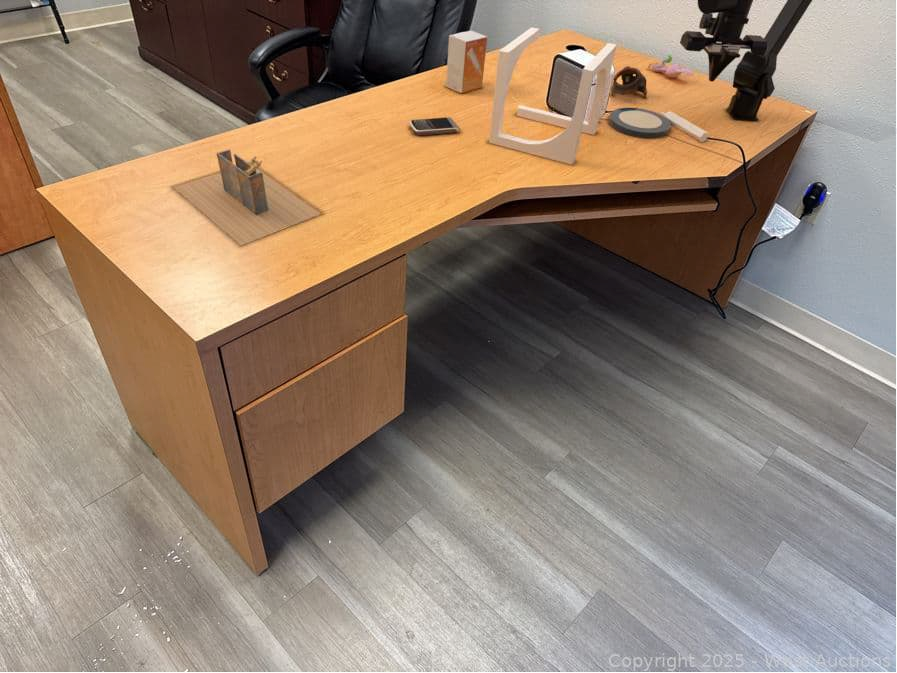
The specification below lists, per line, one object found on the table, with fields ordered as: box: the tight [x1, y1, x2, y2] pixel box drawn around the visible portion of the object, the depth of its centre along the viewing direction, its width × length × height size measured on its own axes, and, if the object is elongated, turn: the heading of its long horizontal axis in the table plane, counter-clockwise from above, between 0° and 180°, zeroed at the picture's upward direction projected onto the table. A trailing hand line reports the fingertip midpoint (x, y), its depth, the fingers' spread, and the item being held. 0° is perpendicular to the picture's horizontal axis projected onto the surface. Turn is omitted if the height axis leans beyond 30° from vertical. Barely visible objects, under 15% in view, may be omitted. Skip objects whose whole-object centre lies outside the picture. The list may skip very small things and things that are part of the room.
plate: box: [608, 107, 672, 139], centre depth 150 cm, size 15×15×2 cm
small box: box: [445, 29, 488, 94], centre depth 157 cm, size 8×6×13 cm
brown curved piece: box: [610, 65, 648, 99], centre depth 163 cm, size 12×10×8 cm
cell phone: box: [409, 116, 460, 136], centre depth 140 cm, size 6×11×1 cm, turn 108°
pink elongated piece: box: [647, 54, 694, 79], centre depth 176 cm, size 6×6×15 cm
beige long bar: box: [660, 110, 709, 142], centre depth 150 cm, size 3×2×16 cm
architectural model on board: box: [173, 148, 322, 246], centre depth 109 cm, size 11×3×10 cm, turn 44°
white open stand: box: [488, 26, 618, 166], centre depth 135 cm, size 20×20×20 cm
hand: (710, 80), depth 145 cm, fingers closed
